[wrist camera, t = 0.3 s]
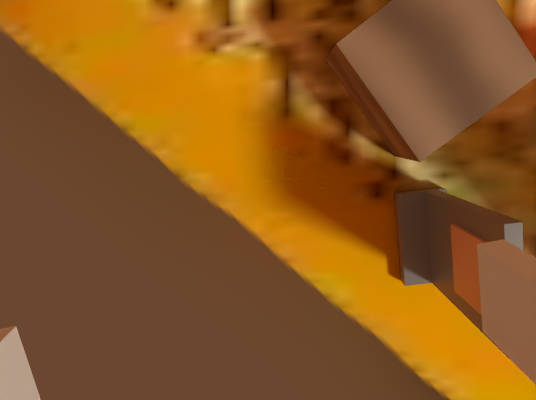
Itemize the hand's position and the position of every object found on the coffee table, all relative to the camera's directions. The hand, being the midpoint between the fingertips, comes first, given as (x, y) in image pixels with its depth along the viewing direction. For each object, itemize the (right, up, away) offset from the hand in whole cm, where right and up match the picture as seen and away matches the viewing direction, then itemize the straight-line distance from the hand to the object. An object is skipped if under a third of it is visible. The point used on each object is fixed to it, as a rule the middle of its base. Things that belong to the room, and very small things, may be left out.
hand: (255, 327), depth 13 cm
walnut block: (+12, +14, +24) cm, 31 cm away
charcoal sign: (+14, +1, +26) cm, 30 cm away
